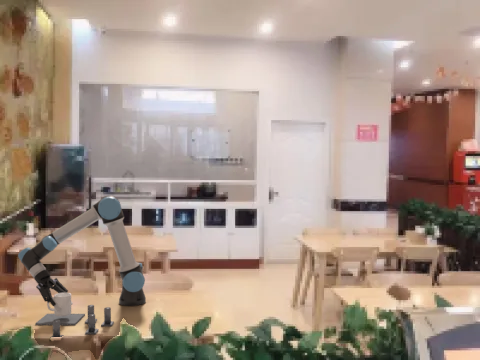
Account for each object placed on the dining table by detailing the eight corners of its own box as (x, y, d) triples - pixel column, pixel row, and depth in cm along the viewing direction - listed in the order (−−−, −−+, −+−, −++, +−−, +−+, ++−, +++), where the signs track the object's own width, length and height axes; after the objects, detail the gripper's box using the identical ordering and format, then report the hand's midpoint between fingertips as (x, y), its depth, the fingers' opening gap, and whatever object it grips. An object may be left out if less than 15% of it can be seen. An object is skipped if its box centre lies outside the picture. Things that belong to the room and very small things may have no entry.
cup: (68, 316, 259) (68, 296, 258) (44, 316, 258) (44, 296, 258) (73, 311, 267) (73, 292, 267) (49, 311, 266) (49, 292, 266)
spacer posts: (115, 320, 263) (115, 304, 263) (100, 341, 234) (100, 322, 233) (70, 320, 263) (70, 304, 263) (49, 340, 234) (48, 322, 234)
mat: (84, 315, 272) (84, 313, 272) (75, 325, 256) (75, 323, 256) (47, 315, 272) (47, 313, 272) (35, 325, 256) (35, 323, 256)
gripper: (49, 274, 278) (74, 306, 273) (21, 282, 258) (47, 317, 253) (57, 265, 276) (82, 297, 271) (29, 273, 256) (55, 308, 251)
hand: (65, 307), depth 262 cm, fingers closed on cup, 8 cm apart
